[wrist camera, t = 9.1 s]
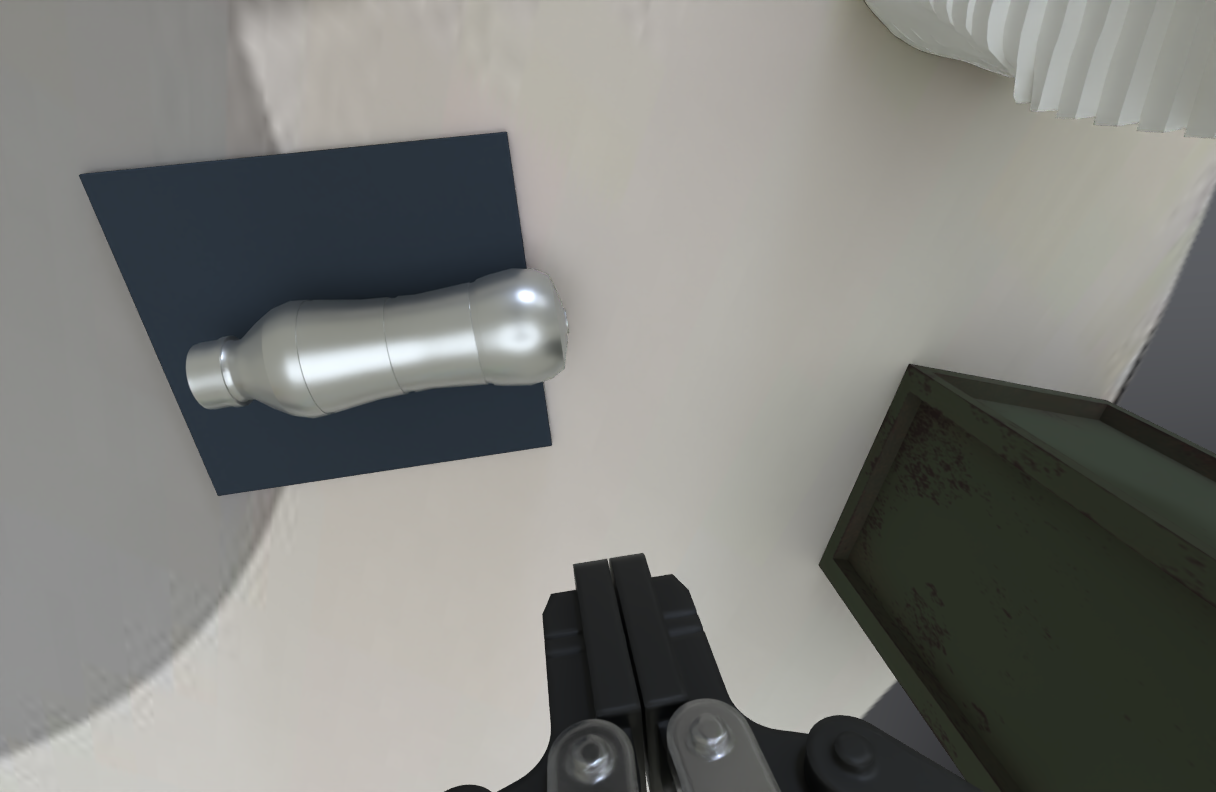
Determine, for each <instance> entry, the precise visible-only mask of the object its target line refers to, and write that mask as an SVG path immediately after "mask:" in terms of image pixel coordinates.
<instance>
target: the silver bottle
mask: <svg viewBox="0 0 1216 792" xmlns="http://www.w3.org/2000/svg"><path fill="white" fill-rule="evenodd" d="M567 333H569V329H568V322H567V316H566V311H565V308H563V306H562V302H561V300H560V297H559V295H558V293H557V291H556V289H555V287H554V285H553V283H552V281H551V279H550V276H549V275H548V274H545V273H543V272H541V271H539V270H536V269H516V268H511V269H507V270H504V271H500V272H496V273H493V274H489V275H486V276H484V277H481V278H478V279H476V280H475V282H472V283H469V282H468V283H464V284H459V285H455V286H450V287H446V288H442V289H437V290H433V291H428V292H424V293H420V294H415V295H404V296H397V297H396V298H389V297H383V298H372V299H362V300H312V301H311V300H298V301H289V302H286V303H284V304H282V305H280V306H277V307H275V308H273V309H271V310H270V311H269V312H267V313H266V314H265V315H264V316H263V317H262V318H261V319H260V320H258V321H257V322H256V323H255V324H254V325H253V326H252V328H251V329H250V330H249V331H248V332H247V333H246V334H245V335H244V337H243V338H242V339H238V338H237V337H235V336H226V337H221V338H219V339H218V340H214V341H208V342H202V343H198V344H196V345H193V346H192V347H191V348H190V350H189V352H188V355H187V359H186V375H187V380H188V383H189V386H190V389H191V391H192V394H193V395H194V397H195V399H196V400H197V401H198V403H199V404H200V405H202V406H203V407H204V408H206V409H210V410H211V409H214V410H215V409H221V408H226V407H232V406H233V407H242V406H248V405H249V404H251V402H252V401H253V400H254V399H255V400H257V401H259V402H261V403H263V404H265V405H268V406H270V407H272V408H274V409H276V410H279V411H282V412H284V413H287V414H290V415H293V416H298V417H307V418H317V417H321V416H326V415H330V414H333V413H337V412H340V411H343V410H347V409H350V408H353V407H357V406H360V405H363V404H367V403H370V402H373V401H377V400H380V399H385V398H390V397H395V396H400V395H404V394H408V393H409V392H412V391H415V392H419V391H424V390H429V389H435V388H448V387H461V386H475V385H487V384H488V383H492V384H494V385H499V386H523V385H534V384H537V383H540V382H543V381H546V380H549V379H552V378H554V377H555V376H556V375H558V374H559V373H560V372H561V371H562V370H563V369H564V368H565V361H566V352H567V344H568V336H567Z"/></svg>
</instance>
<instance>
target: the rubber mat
mask: <svg viewBox="0 0 1216 792" xmlns="http://www.w3.org/2000/svg"><path fill="white" fill-rule="evenodd" d="M79 177H80V179H81V181H82V184H83V186H84V188H85V191H86V193H87V195H88V197H89V200H90V202H91V204H92V207H93V209H94V211H95V214H96V216H97V218H98V220H99V223H100V225H101V227H102V230H103V232H104V234H105V237H106V239H107V241H108V244H109V246H110V248H111V250H112V253H113V255H114V257H115V260H116V262H117V264H118V267H119V269H120V271H121V273H122V276H123V278H124V280H125V283H126V285H127V287H128V290H129V292H130V294H131V297H132V299H133V301H134V303H135V306H136V308H137V310H138V313H139V315H140V317H141V320H142V322H143V324H144V326H145V329H146V331H147V333H148V336H149V338H150V340H151V343H152V345H153V347H154V350H155V352H156V354H157V356H158V359H159V361H160V363H161V366H162V368H163V370H164V373H165V375H166V377H167V379H168V382H169V384H170V386H171V389H172V391H173V393H174V396H175V398H176V400H177V403H178V405H179V407H180V409H181V412H182V414H183V416H184V419H185V421H186V423H187V426H188V428H189V430H190V432H191V435H192V437H193V439H194V442H195V444H196V446H197V449H198V451H199V453H200V456H201V458H202V460H203V462H204V465H205V467H206V469H207V472H208V474H209V476H210V479H211V481H212V483H213V485H214V488H215V490H216V492H217V495H218V496H221V495H228V494H234V493H241V492H247V491H254V490H261V489H267V488H274V487H281V486H287V485H294V484H301V483H307V482H314V481H321V480H327V479H334V478H340V477H347V476H354V475H360V474H367V473H374V472H380V471H387V470H394V469H400V468H407V467H414V466H420V465H427V464H433V463H440V462H447V461H453V460H460V459H467V458H473V457H480V456H487V455H493V454H500V453H507V452H513V451H520V450H526V449H533V448H540V447H546V446H552V441H551V434H550V428H549V421H548V414H547V407H546V400H545V393H544V386H543V382H540V383H537V384H534V385H523V386H499V385H494V384H492V383H488V384H487V385H475V386H461V387H448V388H435V389H429V390H424V391H419V392H415V391H412V392H409V393H408V394H404V395H400V396H395V397H390V398H385V399H380V400H377V401H373V402H370V403H367V404H363V405H360V406H357V407H353V408H350V409H347V410H343V411H340V412H337V413H333V414H330V415H326V416H321V417H317V418H307V417H298V416H293V415H290V414H287V413H284V412H282V411H279V410H276V409H274V408H272V407H270V406H268V405H265V404H263V403H261V402H259V401H257V400H255V399H254V400H253V401H252V402H251V404H249V405H248V406H242V407H233V406H232V407H226V408H221V409H215V410H214V409H211V410H210V409H206V408H204V407H203V406H202V405H200V404H199V403H198V401H197V400H196V399H195V397H194V395H193V394H192V391H191V389H190V386H189V383H188V380H187V375H186V359H187V355H188V352H189V350H190V348H191V347H192V346H193V345H196V344H198V343H202V342H208V341H214V340H218V339H219V338H221V337H226V336H235V337H237V338H238V339H242V338H243V337H244V335H245V334H246V333H247V332H248V331H249V330H250V329H251V328H252V326H253V325H254V324H255V323H256V322H257V321H258V320H260V319H261V318H262V317H263V316H264V315H265V314H266V313H267V312H269V311H270V310H271V309H273V308H275V307H277V306H280V305H282V304H284V303H286V302H289V301H298V300H311V301H312V300H362V299H372V298H383V297H389V298H396V297H397V296H404V295H415V294H420V293H424V292H428V291H433V290H437V289H442V288H446V287H450V286H455V285H459V284H464V283H468V282H469V283H472V282H475V280H476V279H478V278H481V277H484V276H486V275H489V274H493V273H496V272H500V271H504V270H507V269H511V268H516V269H527V268H526V261H525V254H524V247H523V240H522V234H521V227H520V220H519V213H518V206H517V199H516V192H515V185H514V178H513V171H512V164H511V157H510V150H509V143H508V136H507V132H499V133H489V134H479V135H469V136H459V137H449V138H439V139H428V140H418V141H408V142H398V143H388V144H378V145H368V146H358V147H348V148H338V149H328V150H318V151H308V152H298V153H288V154H277V155H267V156H257V157H247V158H237V159H227V160H217V161H207V162H197V163H187V164H177V165H167V166H157V167H147V168H137V169H127V170H116V171H106V172H96V173H86V174H80V175H79Z"/></svg>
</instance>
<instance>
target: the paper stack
mask: <svg viewBox="0 0 1216 792" xmlns="http://www.w3.org/2000/svg"><path fill="white" fill-rule="evenodd" d="M864 1H865V2H866V4H867V5H868V7H869V8H870V9H871V10H872V12H873V13H874V14H875V15H876V16H877V17H878V18H879V19H880V20H881V22H882V23H883V24H884V25H886V27H887V28H888V29H889V30H890V32H891V33H893V34H894V35H895V36H896V37H898V38H900V39H902V40H903V41H904V42H906V43H907V44H909V45H911V46H912V47H914V48H916V49H919V50H921V51H923V52H927V53H931V54H935V55H938V56H942V57H947V58H952V59H957V60H961V61H964V62H967V63H970V64H973V65H975V66H977V67H979V68H982V69H985V70H988V71H991V72H995V73H998V74H1000V75H1003V76H1006V77H1013V78H1015V85H1014V94H1013V97H1014V99H1015V101H1016V103H1031V106H1030V111H1034V112H1039V111H1053V110H1058V111H1057V114H1056V117H1055V118H1061V119H1081V118H1090V117H1096V118H1095V121H1094V125H1104V126H1122V125H1128V124H1135V123H1139V124H1138V128H1137V131H1144V132H1161V133H1164V132H1169V131H1174V130H1179V129H1185V128H1186V131H1185V134H1184V137H1199V138H1216V0H864Z"/></svg>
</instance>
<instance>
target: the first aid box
mask: <svg viewBox="0 0 1216 792" xmlns="http://www.w3.org/2000/svg"><path fill="white" fill-rule="evenodd" d="M819 566H820V568H821V569H822V571H823V572H824V574H825V575H826V577H827V578H828V579H829V581H830V582H831V584H832V585H833V587H834V588H835V590H836V591H837V593H838V594H839V596H840V597H841V598H842V600H843V601H844V603H845V604H846V606H847V607H848V609H849V610H850V612H851V613H852V615H853V616H854V617H855V619H856V620H857V622H858V623H859V625H860V626H861V628H862V629H863V631H864V632H865V634H866V635H867V636H868V638H869V639H870V641H871V642H872V644H873V645H874V647H875V648H876V650H877V651H878V653H879V654H880V655H881V657H882V658H883V660H884V661H885V663H886V664H887V666H888V667H889V669H890V670H891V672H892V673H893V674H894V676H895V677H896V679H897V680H898V682H899V683H900V685H901V686H902V688H903V689H904V690H905V692H906V693H907V695H908V696H909V698H910V699H911V701H912V702H913V704H914V705H915V707H916V708H917V710H918V711H919V712H920V714H921V715H922V717H923V718H924V720H925V721H926V723H927V724H928V725H929V727H930V728H931V730H932V731H933V733H934V734H935V736H936V737H937V739H938V740H939V742H940V743H941V745H942V746H943V747H944V749H945V750H946V752H947V753H948V755H949V756H950V758H951V759H952V761H953V762H954V764H955V765H956V767H957V768H958V769H959V771H960V772H961V774H962V775H963V777H964V778H965V780H966V781H967V782H969V783H971V784H972V785H974V786H976V787H977V788H979V789H981V790H982V791H984V792H1216V454H1215V453H1213V452H1211V451H1209V450H1207V449H1205V448H1203V447H1200V446H1199V445H1196V444H1195V443H1192V442H1191V441H1189V440H1186V439H1184V438H1182V437H1180V436H1178V435H1176V434H1174V433H1172V432H1170V431H1168V430H1166V429H1164V428H1162V427H1160V426H1158V425H1156V424H1154V423H1152V422H1150V421H1148V420H1145V419H1144V418H1142V417H1139V416H1137V415H1136V414H1134V413H1131V412H1129V411H1127V410H1125V409H1123V408H1121V407H1119V406H1117V405H1115V404H1113V403H1111V402H1109V401H1107V400H1102V399H1096V398H1091V397H1086V396H1080V395H1075V394H1069V393H1064V392H1059V391H1053V390H1048V389H1042V388H1037V387H1031V386H1026V385H1020V384H1015V383H1010V382H1005V381H999V380H994V379H989V378H983V377H978V376H972V375H967V374H961V373H956V372H950V371H945V370H940V369H934V368H929V367H923V366H918V365H913V364H909V366H908V368H907V370H906V372H905V375H904V377H903V379H902V381H901V384H900V386H899V388H898V390H897V392H896V395H895V397H894V399H893V401H892V404H891V406H890V408H889V410H888V412H887V415H886V417H885V419H884V421H883V423H882V426H881V428H880V430H879V432H878V435H877V437H876V439H875V441H874V443H873V446H872V448H871V450H870V452H869V454H868V457H867V459H866V461H865V463H864V466H863V468H862V470H861V472H860V474H859V477H858V479H857V481H856V483H855V486H854V488H853V490H852V492H851V494H850V497H849V499H848V501H847V503H846V506H845V508H844V510H843V512H842V514H841V517H840V519H839V521H838V523H837V526H836V528H835V530H834V532H833V534H832V537H831V539H830V541H829V543H828V546H827V548H826V550H825V552H824V555H823V557H822V559H821V561H820V563H819Z"/></svg>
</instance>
